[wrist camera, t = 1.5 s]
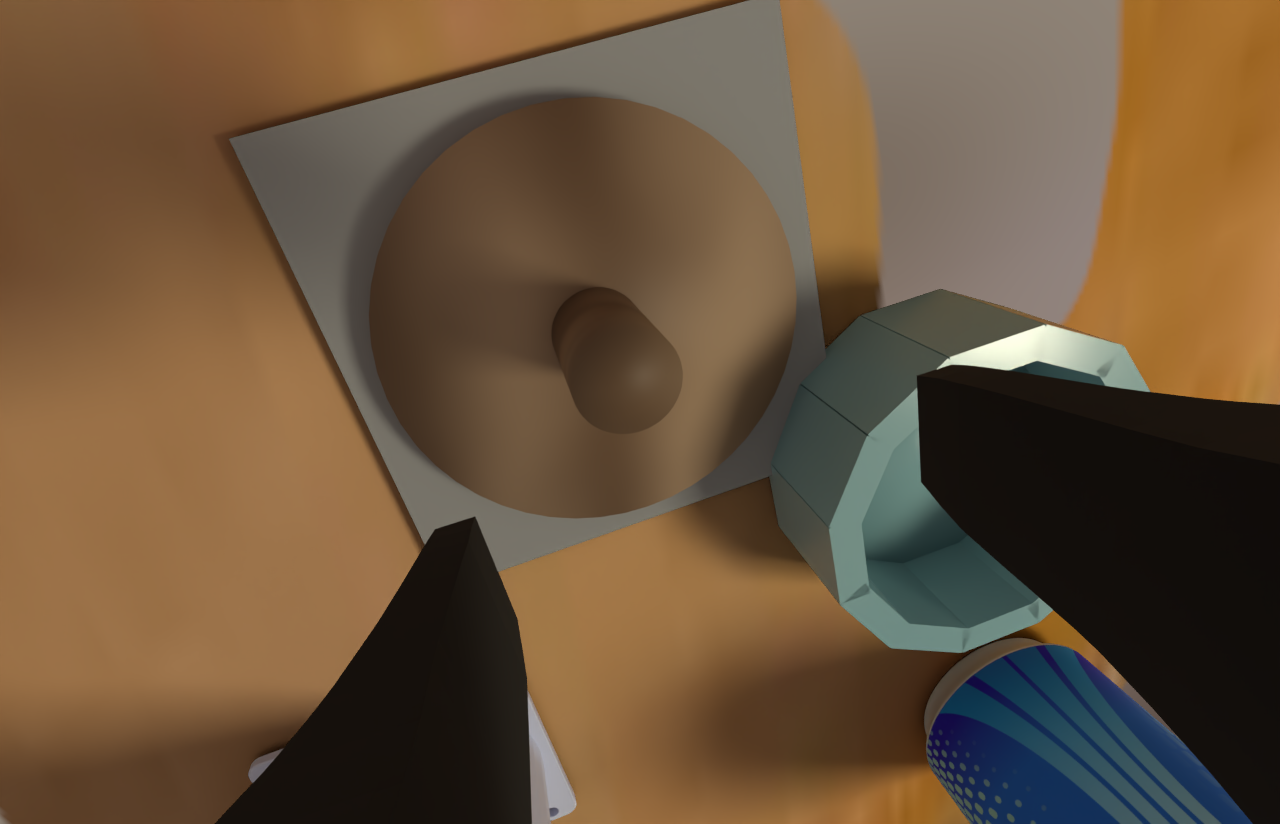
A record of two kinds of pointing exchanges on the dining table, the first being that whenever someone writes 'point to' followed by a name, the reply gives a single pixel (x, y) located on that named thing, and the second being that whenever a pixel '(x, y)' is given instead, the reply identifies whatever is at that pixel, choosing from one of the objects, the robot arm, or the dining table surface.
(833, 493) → the bowl
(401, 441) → the mat
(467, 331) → the lid
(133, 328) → the dining table surface
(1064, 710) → the beer can
